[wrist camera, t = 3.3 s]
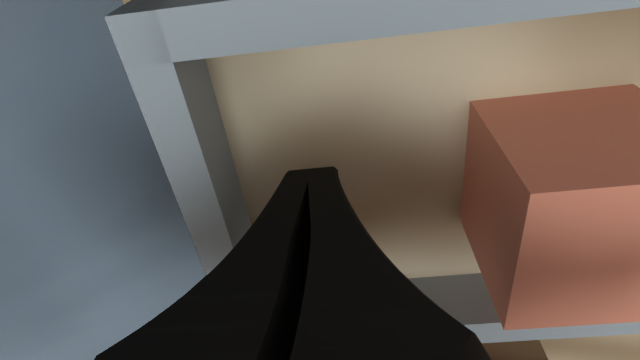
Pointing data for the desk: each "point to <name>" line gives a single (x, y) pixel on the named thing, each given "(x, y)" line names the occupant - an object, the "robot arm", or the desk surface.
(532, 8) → the grey rectangular frame
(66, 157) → the desk surface
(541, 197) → the coral cube
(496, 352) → the walnut bar
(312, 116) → the birch board
